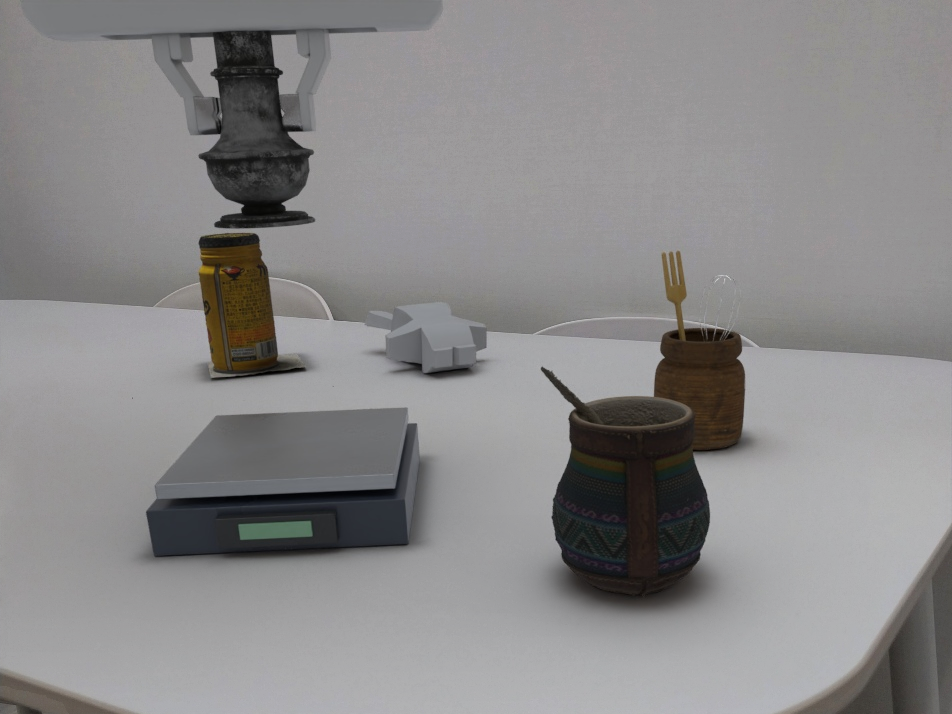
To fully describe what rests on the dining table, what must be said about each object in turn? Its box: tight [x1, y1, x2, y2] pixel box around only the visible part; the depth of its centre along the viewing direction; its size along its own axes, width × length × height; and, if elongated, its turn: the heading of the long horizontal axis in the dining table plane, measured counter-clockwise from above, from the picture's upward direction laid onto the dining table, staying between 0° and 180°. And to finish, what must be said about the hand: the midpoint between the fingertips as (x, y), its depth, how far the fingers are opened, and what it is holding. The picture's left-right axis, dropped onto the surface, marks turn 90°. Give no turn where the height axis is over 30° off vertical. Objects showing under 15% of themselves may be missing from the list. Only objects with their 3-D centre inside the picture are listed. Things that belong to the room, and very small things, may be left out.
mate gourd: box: [540, 366, 712, 598], centre depth 44 cm, size 7×8×10 cm
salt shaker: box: [197, 30, 316, 230], centre depth 50 cm, size 6×6×12 cm
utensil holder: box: [653, 250, 746, 451], centre depth 63 cm, size 6×6×12 cm
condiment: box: [198, 232, 307, 379], centre depth 88 cm, size 7×8×12 cm
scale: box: [145, 422, 421, 557], centre depth 55 cm, size 13×15×2 cm
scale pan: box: [154, 407, 410, 500], centre depth 55 cm, size 12×13×1 cm
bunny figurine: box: [364, 301, 488, 374], centre depth 90 cm, size 10×5×15 cm
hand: (254, 133), depth 50 cm, fingers closed on salt shaker, 3 cm apart
